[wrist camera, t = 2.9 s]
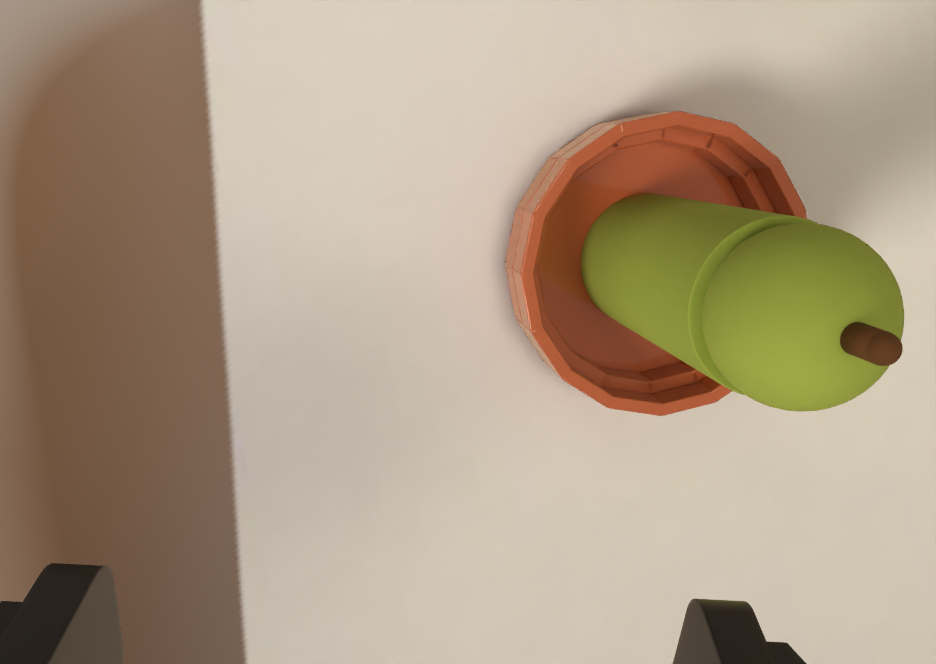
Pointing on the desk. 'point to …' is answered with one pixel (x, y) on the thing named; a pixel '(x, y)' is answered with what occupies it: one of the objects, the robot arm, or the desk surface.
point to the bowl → (573, 213)
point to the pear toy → (748, 297)
